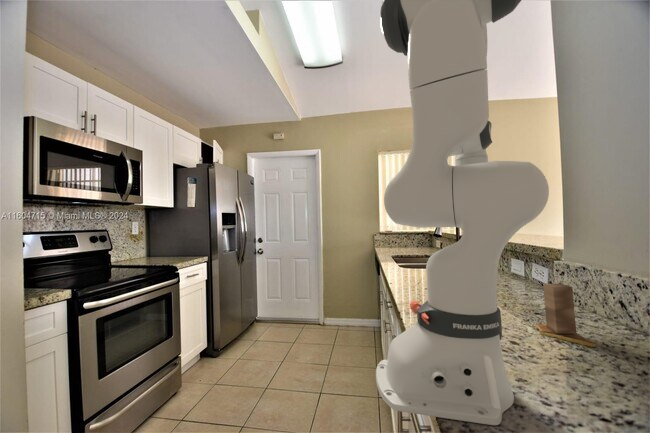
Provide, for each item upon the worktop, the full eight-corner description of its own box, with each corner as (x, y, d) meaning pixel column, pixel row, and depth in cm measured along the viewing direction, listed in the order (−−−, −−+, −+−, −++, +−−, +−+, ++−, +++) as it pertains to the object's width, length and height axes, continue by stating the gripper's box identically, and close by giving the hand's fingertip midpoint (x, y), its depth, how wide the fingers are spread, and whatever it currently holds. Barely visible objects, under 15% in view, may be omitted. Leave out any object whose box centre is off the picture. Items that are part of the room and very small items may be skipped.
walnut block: (557, 333, 64) (553, 286, 64) (546, 327, 67) (543, 283, 68) (576, 333, 63) (572, 287, 63) (565, 327, 67) (561, 283, 67)
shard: (598, 351, 58) (597, 342, 58) (559, 349, 59) (558, 341, 60) (562, 331, 69) (561, 324, 69) (529, 330, 70) (529, 323, 70)
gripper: (469, 162, 73) (471, 212, 73) (494, 170, 87) (496, 212, 86) (446, 167, 78) (448, 213, 78) (473, 173, 91) (475, 213, 91)
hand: (473, 213), depth 82 cm, fingers open, 8 cm apart
